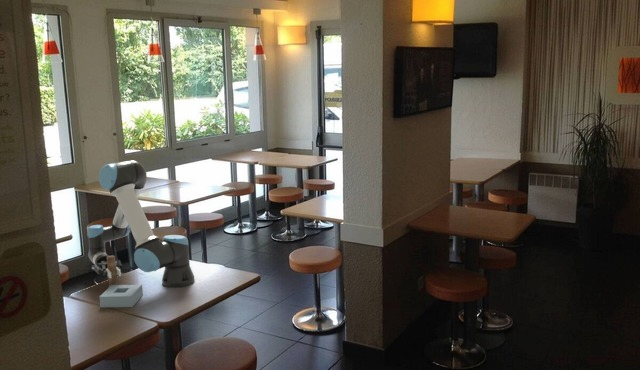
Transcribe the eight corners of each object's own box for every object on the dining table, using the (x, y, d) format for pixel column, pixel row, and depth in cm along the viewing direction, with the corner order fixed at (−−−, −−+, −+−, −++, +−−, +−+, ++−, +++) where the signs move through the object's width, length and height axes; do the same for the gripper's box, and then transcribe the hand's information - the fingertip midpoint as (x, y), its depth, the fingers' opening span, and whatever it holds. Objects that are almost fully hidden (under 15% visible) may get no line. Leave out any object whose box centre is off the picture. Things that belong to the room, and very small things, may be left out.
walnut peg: (119, 290, 269) (116, 255, 266) (116, 293, 266) (113, 257, 262) (111, 290, 269) (108, 255, 266) (108, 293, 266) (105, 257, 262)
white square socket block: (142, 294, 263) (141, 284, 262) (132, 307, 249) (131, 296, 248) (112, 295, 263) (111, 284, 262) (100, 307, 249) (99, 296, 248)
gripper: (120, 265, 285) (134, 278, 266) (85, 272, 276) (97, 286, 257) (119, 250, 284) (132, 262, 265) (83, 257, 275) (95, 270, 256)
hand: (115, 274), depth 261 cm, fingers closed on walnut peg, 3 cm apart
